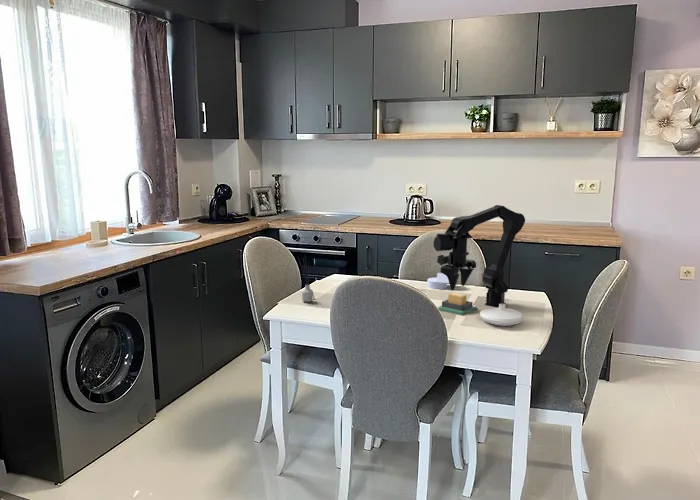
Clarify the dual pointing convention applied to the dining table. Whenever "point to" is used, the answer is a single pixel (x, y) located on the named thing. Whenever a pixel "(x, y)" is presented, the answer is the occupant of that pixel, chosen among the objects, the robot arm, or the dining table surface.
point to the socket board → (457, 307)
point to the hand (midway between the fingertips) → (457, 287)
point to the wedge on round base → (438, 282)
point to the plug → (457, 298)
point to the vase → (501, 316)
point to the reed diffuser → (307, 287)
